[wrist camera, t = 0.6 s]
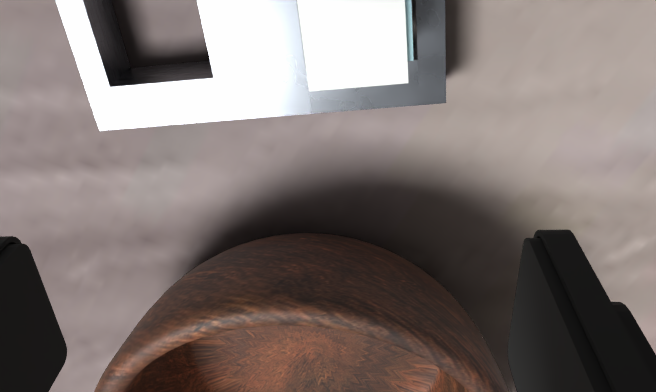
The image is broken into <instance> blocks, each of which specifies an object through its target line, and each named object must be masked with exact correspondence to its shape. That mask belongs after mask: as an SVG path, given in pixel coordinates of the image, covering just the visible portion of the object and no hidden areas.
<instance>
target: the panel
mask: <svg viewBox="0 0 656 392" xmlns="http://www.w3.org/2000/svg"><path fill="white" fill-rule="evenodd" d="M56 3H57V6H58V9H59V12H60V15H61V18H62V21H63V24H64V27H65V30H66V33H67V36H68V39H69V42H70V45H71V48H72V51H73V54H74V57H75V60H76V63H77V66H78V69H79V72H80V75H81V78H82V81H83V83H84V86H85V89H86V92H87V95H88V98H89V101H90V104H91V107H92V110H93V113H94V116H95V119H96V122H97V125H98V128H99V131H102V130H115V129H127V128H140V127H152V126H165V125H177V124H190V123H202V122H215V121H227V120H240V119H252V118H265V117H277V116H290V115H302V114H315V113H327V112H340V111H352V110H365V109H377V108H390V107H402V106H415V105H427V104H440V103H446V49H445V0H412V8H413V35H414V42H413V60H414V61H407V62H408V83H404V84H393V85H381V86H369V87H357V88H345V89H333V90H321V91H309V87H308V80H307V72H306V65H305V57H304V50H303V42H302V35H301V27H300V20H299V12H298V5H297V0H197V3H198V8H199V12H200V17H201V22H202V26H203V31H204V35H205V40H206V45H207V49H208V54H209V58H210V61H201V62H190V63H179V64H168V65H157V66H146V67H135V68H131V67H130V64H129V60H128V57H127V53H126V50H125V46H124V43H123V39H122V36H121V33H120V29H119V26H118V22H117V19H116V15H115V12H114V8H113V5H112V2H111V0H56Z"/></svg>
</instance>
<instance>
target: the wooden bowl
mask: <svg viewBox="0 0 656 392" xmlns="http://www.w3.org/2000/svg"><path fill="white" fill-rule="evenodd" d="M95 392H509V390H508V388H507V386H506V383H505V381H504V379H503V377H502V374H501V372H500V370H499V368H498V366H497V364H496V362H495V360H494V358H493V356H492V354H491V352H490V350H489V348H488V346H487V344H486V342H485V340H484V338H483V337H482V335H481V333H480V332H479V330H478V328H477V327H476V326H475V324H474V323H473V321H472V320H471V318H470V317H469V315H468V314H467V313H466V312H465V310H464V309H463V308H462V307H461V305H460V304H459V303H458V302H457V301H456V300H455V298H454V297H453V296H452V295H451V294H450V293H449V292H448V291H447V290H446V289H445V288H444V287H442V286H441V285H440V284H439V283H438V282H437V281H436V280H435V279H433V278H432V277H431V276H430V275H428V274H427V273H426V272H424V271H423V270H422V269H420V268H419V267H418V266H416V265H414V264H413V263H411V262H409V261H408V260H406V259H404V258H402V257H400V256H398V255H396V254H394V253H392V252H390V251H388V250H386V249H383V248H381V247H378V246H376V245H373V244H371V243H367V242H364V241H361V240H357V239H353V238H348V237H344V236H338V235H330V234H319V233H294V234H284V235H276V236H271V237H267V238H262V239H257V240H254V241H250V242H247V243H244V244H240V245H238V246H235V247H233V248H230V249H228V250H226V251H224V252H222V253H220V254H218V255H216V256H214V257H212V258H210V259H209V260H207V261H205V262H203V263H201V264H200V265H198V266H197V267H195V268H194V269H192V270H191V271H190V272H188V273H187V274H186V275H185V276H183V277H182V278H181V279H180V280H179V281H177V282H176V283H175V284H174V285H173V286H172V287H170V288H169V289H168V290H167V291H166V292H165V293H164V294H163V295H162V296H161V298H160V299H159V300H158V301H157V302H156V303H155V304H154V305H153V306H152V307H151V308H150V309H149V310H148V312H147V313H146V314H145V315H144V317H143V318H142V319H141V320H140V322H139V323H138V324H137V326H136V327H135V328H134V330H133V331H132V332H131V334H130V335H129V337H128V338H127V339H126V341H125V342H124V344H123V345H122V346H121V348H120V349H119V351H118V352H117V353H116V355H115V356H114V358H113V359H112V360H111V362H110V363H109V365H108V367H107V368H106V370H105V372H104V373H103V375H102V377H101V379H100V381H99V383H98V385H97V387H96V389H95Z"/></svg>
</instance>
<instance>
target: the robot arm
mask: <svg viewBox="0 0 656 392" xmlns="http://www.w3.org/2000/svg"><path fill="white" fill-rule="evenodd" d="M66 356H67V347H66V343H65V341H64V338H63V335H62V333H61V330H60V327H59V325H58V322H57V320H56V317H55V314H54V312H53V309H52V306H51V304H50V301H49V298H48V296H47V293H46V291H45V288H44V285H43V283H42V280H41V277H40V275H39V272H38V269H37V267H36V264H35V261H34V259H33V256H32V254H31V251H30V249H29V247H28V246H27V245H25V244H22V243H21V241H20V240H19V239H18V238H16V237H13V236H10V237H0V392H48V391H49V390H50V388H51V386H52V384H53V383H54V381H55V379H56V377H57V376H58V374H59V372H60V370H61V369H62V367H63V365H64V363H65V360H66ZM508 361H509V366H510V369H511V373H512V376H513V380H514V383H515V387H516V390H517V392H656V355H655V353H654V351H653V349H652V348H651V346H650V344H649V343H648V341H647V339H646V337H645V336H644V334H643V332H642V331H641V329H640V327H639V325H638V324H637V322H636V320H635V319H634V317H633V315H632V314H631V312H630V310H629V309H628V308H627V307H626V305H624V304H623V303H621V302H611V301H610V299H609V298H608V296H607V294H606V292H605V290H604V289H603V287H602V285H601V283H600V281H599V280H598V278H597V276H596V274H595V272H594V270H593V269H592V267H591V265H590V263H589V261H588V260H587V258H586V256H585V254H584V252H583V251H582V249H581V247H580V245H579V243H578V242H577V240H576V238H575V236H574V234H573V233H572V232H571V231H570V230H537V231H536V232H535V234H534V238H526V239H525V240H524V243H523V249H522V255H521V262H520V268H519V275H518V282H517V288H516V295H515V301H514V308H513V314H512V321H511V327H510V334H509V341H508Z"/></svg>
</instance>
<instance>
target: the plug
mask: <svg viewBox="0 0 656 392" xmlns="http://www.w3.org/2000/svg"><path fill="white" fill-rule="evenodd" d="M297 5H298V12H299V20H300V27H301V35H302V42H303V50H304V57H305V65H306V72H307V80H308V87H309V91H321V90H333V89H345V88H357V87H369V86H381V85H393V84H404V83H408V62H407V61H414V60H413V33H412V6H411V0H297Z"/></svg>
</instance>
